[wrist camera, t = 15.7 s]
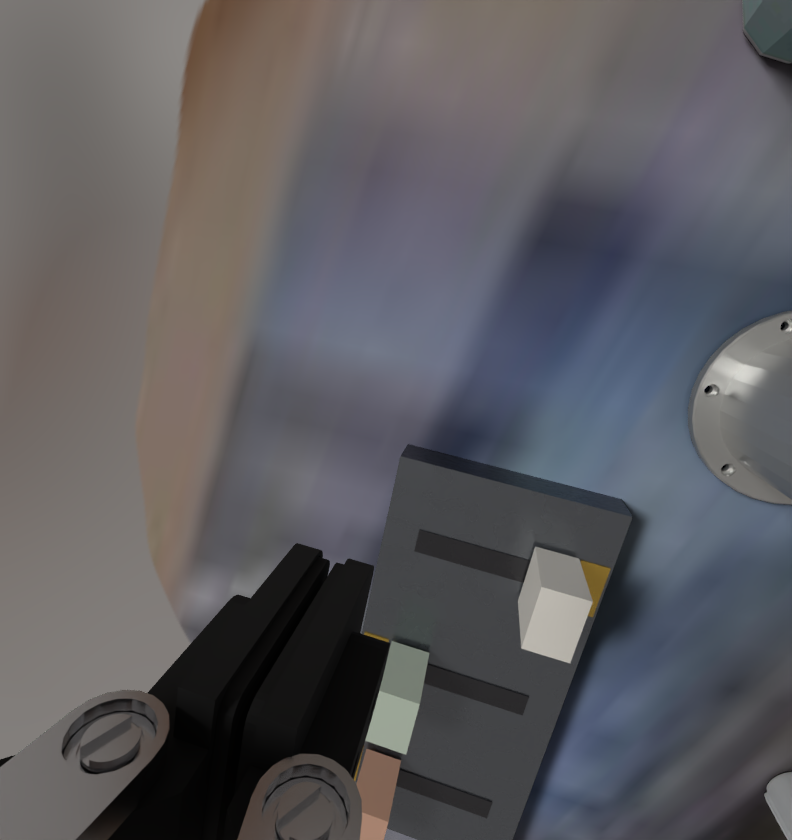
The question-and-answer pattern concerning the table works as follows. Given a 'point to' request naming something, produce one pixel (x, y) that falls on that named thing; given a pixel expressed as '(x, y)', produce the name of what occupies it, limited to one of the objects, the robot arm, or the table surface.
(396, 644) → the slider sage
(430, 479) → the grey slotted slider board
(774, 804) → the photo printer
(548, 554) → the slider ivory
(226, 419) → the table surface
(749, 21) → the disposable coffee cup
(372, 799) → the slider terracotta
